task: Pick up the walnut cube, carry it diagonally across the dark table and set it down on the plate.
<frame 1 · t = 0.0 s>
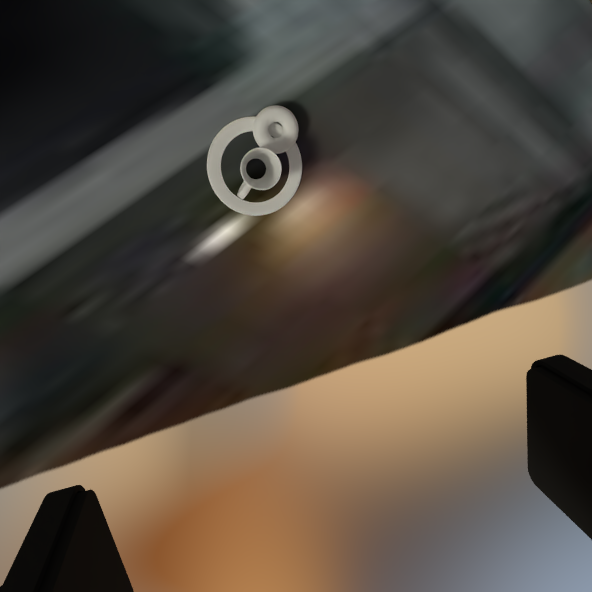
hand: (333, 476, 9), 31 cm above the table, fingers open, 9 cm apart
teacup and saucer: (290, 168, 39), on the table
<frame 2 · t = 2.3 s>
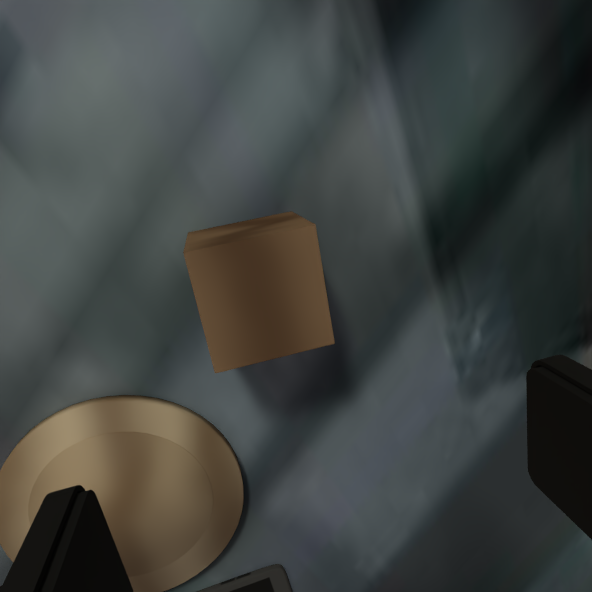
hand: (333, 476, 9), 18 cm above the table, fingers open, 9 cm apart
plate: (126, 498, 29), on the table
walnut cube: (251, 271, 27), on the table
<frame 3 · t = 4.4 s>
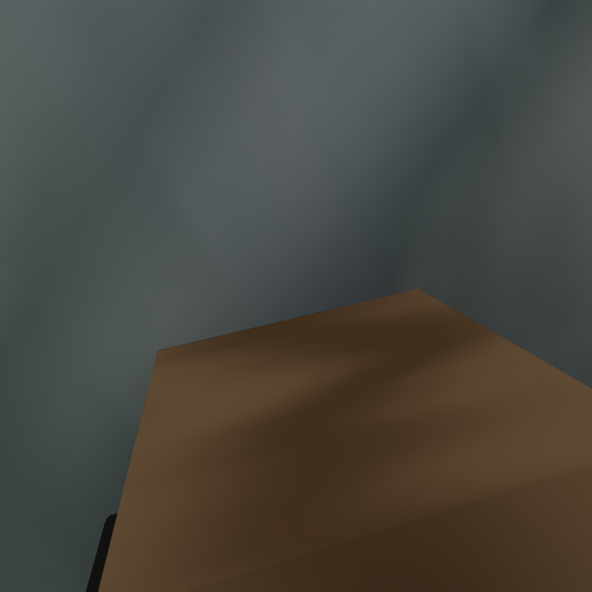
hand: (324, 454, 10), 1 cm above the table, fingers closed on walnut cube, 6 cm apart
walnut cube: (314, 431, 11), on the table, touching gripper
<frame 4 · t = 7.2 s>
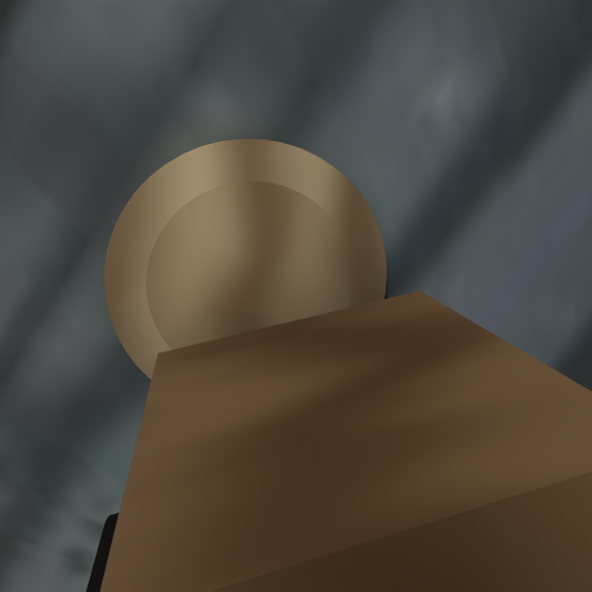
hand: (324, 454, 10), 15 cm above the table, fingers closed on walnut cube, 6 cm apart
plate: (252, 283, 25), on the table
walnut cube: (315, 434, 11), point 15 cm above the table, touching gripper
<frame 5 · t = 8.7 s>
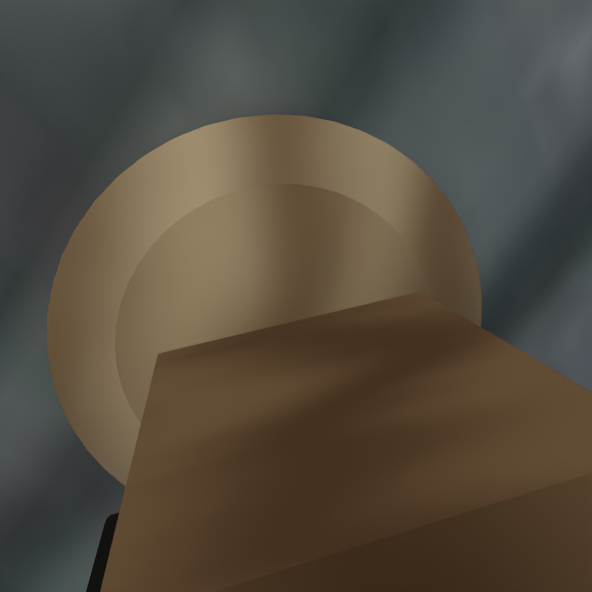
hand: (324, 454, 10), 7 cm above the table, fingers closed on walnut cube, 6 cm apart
plate: (280, 338, 16), on the table
walnut cube: (315, 434, 11), point 6 cm above the table, touching gripper
when the fingers open (3 cm above the table, at t = 9.9 s): walnut cube drops 1 cm, resting on plate.
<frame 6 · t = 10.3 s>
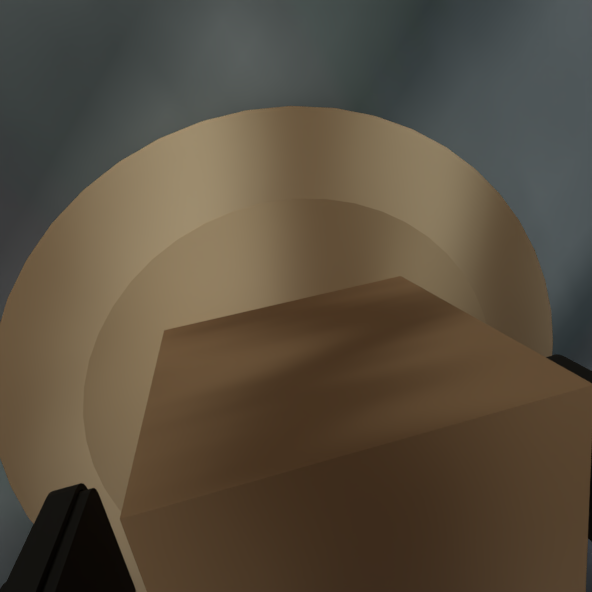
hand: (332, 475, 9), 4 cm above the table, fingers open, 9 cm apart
plate: (298, 393, 13), on the table
walnut cube: (306, 406, 12), point 1 cm above the table, touching plate
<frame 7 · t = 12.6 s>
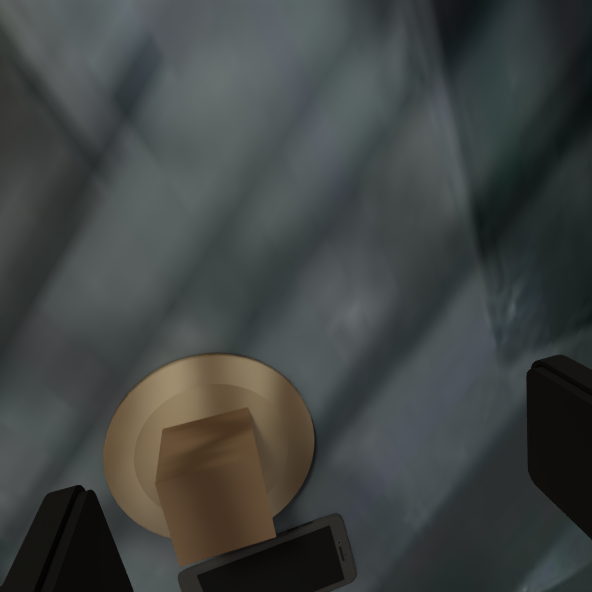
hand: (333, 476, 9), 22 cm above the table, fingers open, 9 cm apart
plate: (213, 447, 33), on the table
walnut cube: (214, 453, 32), point 1 cm above the table, touching plate
cell phone: (270, 569, 38), on the table
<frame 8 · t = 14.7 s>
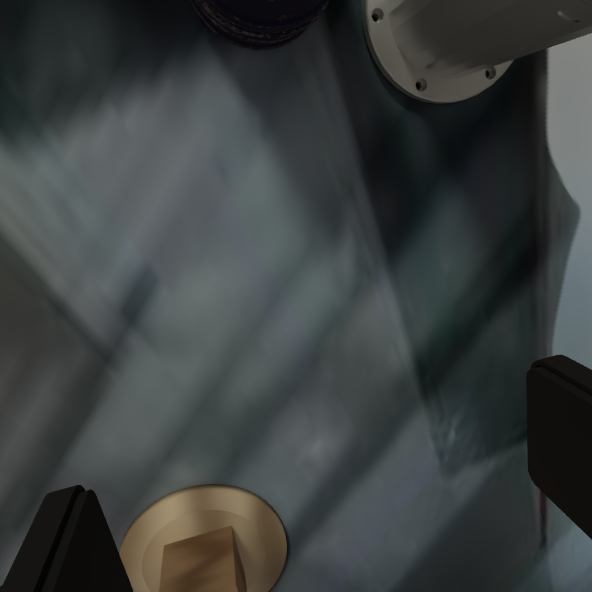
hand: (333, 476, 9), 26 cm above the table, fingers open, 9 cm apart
plate: (205, 553, 41), on the table
walnut cube: (205, 560, 40), point 1 cm above the table, touching plate
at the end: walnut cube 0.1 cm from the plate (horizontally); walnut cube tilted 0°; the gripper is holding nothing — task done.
